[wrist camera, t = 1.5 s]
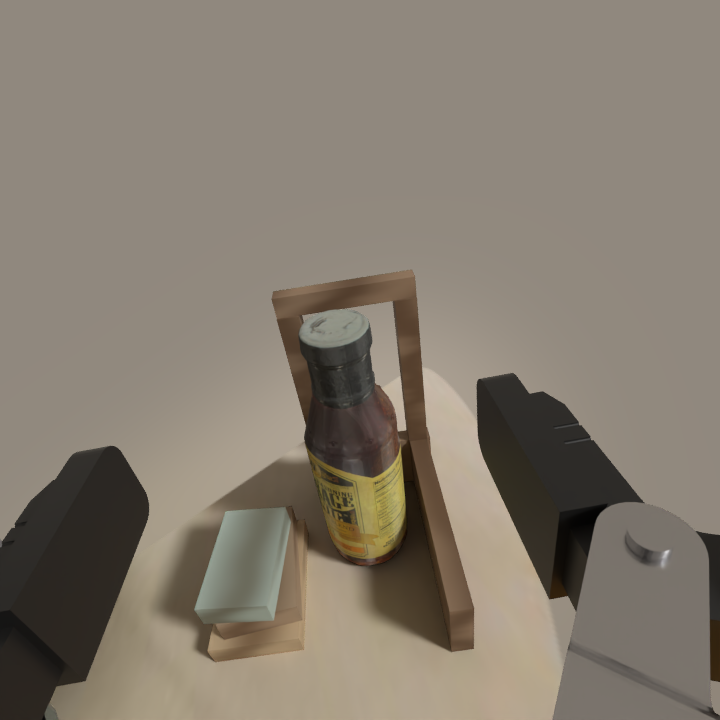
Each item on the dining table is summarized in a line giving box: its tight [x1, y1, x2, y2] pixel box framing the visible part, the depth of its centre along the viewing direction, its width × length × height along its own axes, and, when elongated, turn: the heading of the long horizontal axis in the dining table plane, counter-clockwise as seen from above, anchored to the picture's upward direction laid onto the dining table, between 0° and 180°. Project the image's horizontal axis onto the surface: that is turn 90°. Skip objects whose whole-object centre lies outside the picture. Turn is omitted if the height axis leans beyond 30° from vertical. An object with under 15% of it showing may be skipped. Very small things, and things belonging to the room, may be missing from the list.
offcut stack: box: [194, 506, 308, 662], centre depth 32 cm, size 6×9×5 cm
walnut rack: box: [272, 270, 474, 652], centre depth 29 cm, size 10×15×20 cm, turn 5°
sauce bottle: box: [298, 309, 407, 566], centre depth 30 cm, size 7×6×20 cm
